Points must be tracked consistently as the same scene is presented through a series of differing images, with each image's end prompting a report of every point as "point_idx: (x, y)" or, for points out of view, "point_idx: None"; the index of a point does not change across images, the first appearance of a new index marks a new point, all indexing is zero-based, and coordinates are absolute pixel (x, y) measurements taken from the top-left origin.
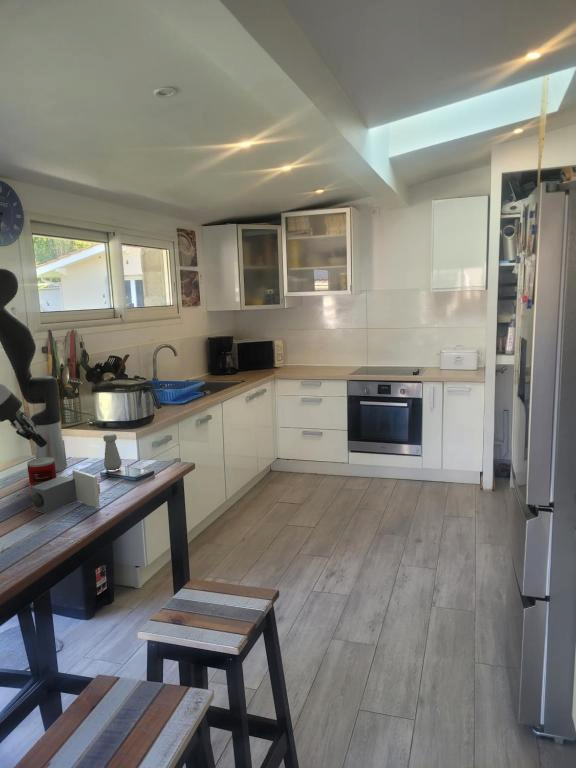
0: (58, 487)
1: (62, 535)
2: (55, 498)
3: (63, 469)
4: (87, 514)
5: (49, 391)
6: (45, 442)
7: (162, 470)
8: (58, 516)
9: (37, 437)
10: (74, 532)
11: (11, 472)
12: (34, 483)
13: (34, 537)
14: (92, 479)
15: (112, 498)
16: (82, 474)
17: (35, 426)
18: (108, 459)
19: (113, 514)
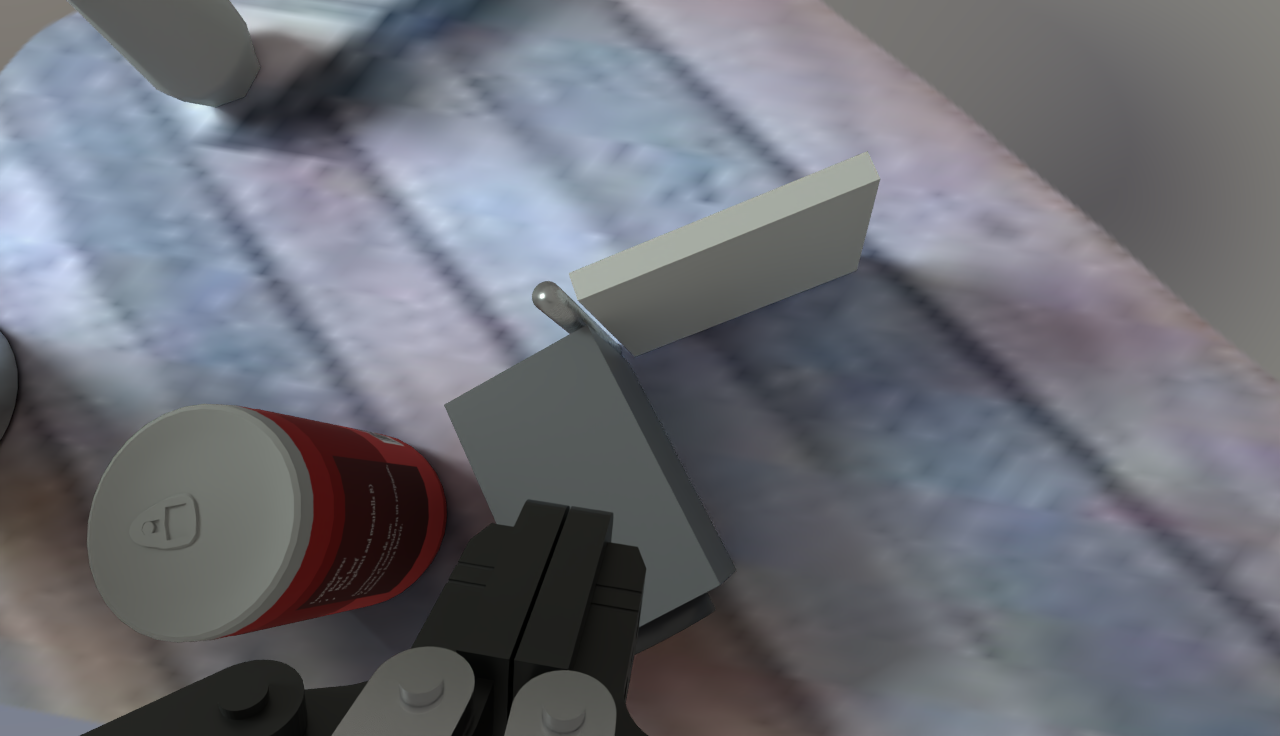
0: (658, 460)
1: (1221, 553)
2: (688, 497)
3: (2, 335)
4: (917, 341)
5: None
6: (610, 535)
7: None
8: (834, 512)
9: (624, 691)
10: (1211, 473)
11: None
12: (357, 594)
13: (1144, 727)
14: (860, 196)
15: (722, 156)
16: (711, 249)
17: (262, 699)
18: (184, 45)
19: (1023, 197)
